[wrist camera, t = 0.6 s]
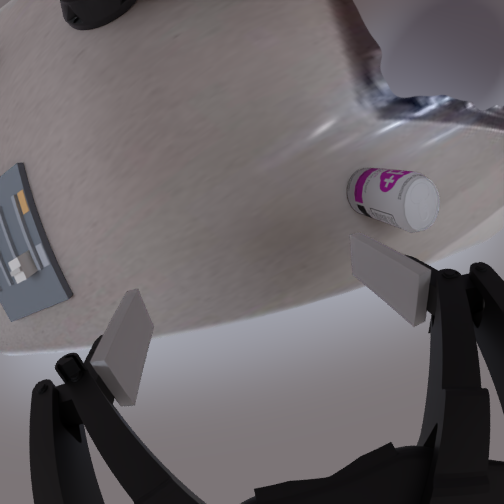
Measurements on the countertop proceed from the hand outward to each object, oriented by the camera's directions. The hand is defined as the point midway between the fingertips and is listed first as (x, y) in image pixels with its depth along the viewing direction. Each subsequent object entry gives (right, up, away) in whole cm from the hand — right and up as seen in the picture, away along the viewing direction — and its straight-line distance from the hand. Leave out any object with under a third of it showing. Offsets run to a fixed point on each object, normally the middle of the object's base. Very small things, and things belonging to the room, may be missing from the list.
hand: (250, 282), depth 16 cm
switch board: (-45, +2, +20) cm, 50 cm away
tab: (-39, 0, +20) cm, 44 cm away
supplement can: (+20, +12, +28) cm, 36 cm away
